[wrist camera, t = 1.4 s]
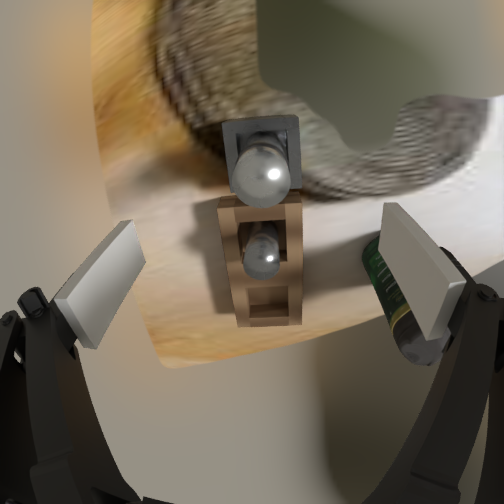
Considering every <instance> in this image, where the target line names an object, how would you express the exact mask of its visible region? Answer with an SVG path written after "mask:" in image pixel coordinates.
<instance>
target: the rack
mask: <svg viewBox="0 0 504 504" xmlns="http://www.w3.org/2000/svg"><path fill="white" fill-rule="evenodd" d="M217 213H218V219H219V225H220V231H221V237H222V243H223V249H224V255H225V260H226V266H227V271H228V277H229V283H230V288H231V293H232V299H233V304H234V309H235V315H236V320H237V325H238V327H265V326H288V325H302V291H303V223H302V201H301V198H300V194H299V192H288V193H287V195H286V197H285V198H284V199H283V200H282V201H281V202H279V203H278V204H276V205H274V206H272V207H268V208H255V207H251V206H249V205H247V204H245V203H244V202H242V201H241V200H240V199H239V198H238V197H237V195H236V196H225V197H222V198H221V200H220V202H219V204H218V207H217ZM267 220H272V221H273V222H274V223H275V224H276V226H277V228H278V240H279V258H280V268H279V271H278V273H277V274H276V275H275V276H274V277H272V278H270V279H267V280H256V279H253V278H251V277H250V276H248V275H247V274H246V272H245V271H244V268H243V261H244V254H245V247H246V240H247V233H248V228H249V225H250V224H251V223H252V222H253V221H267Z"/></svg>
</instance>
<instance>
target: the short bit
mask: <svg viewBox="0 0 504 504" xmlns="http://www.w3.org/2000/svg"><path fill="white" fill-rule="evenodd" d="M243 268H244V271H245V272H246V274H247V275H248V276H250V277H251V278H253V279H256V280H267V279H270V278H272V277H274V276H275V275H276V274H277V273H278V271H279V268H280V258H279V240H278V228H277V226H276V224H275V223H274V222H273V221H272V220H267V221H253V222H252V223H251V224H250V225H249V228H248V233H247V240H246V247H245V254H244V261H243Z"/></svg>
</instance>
